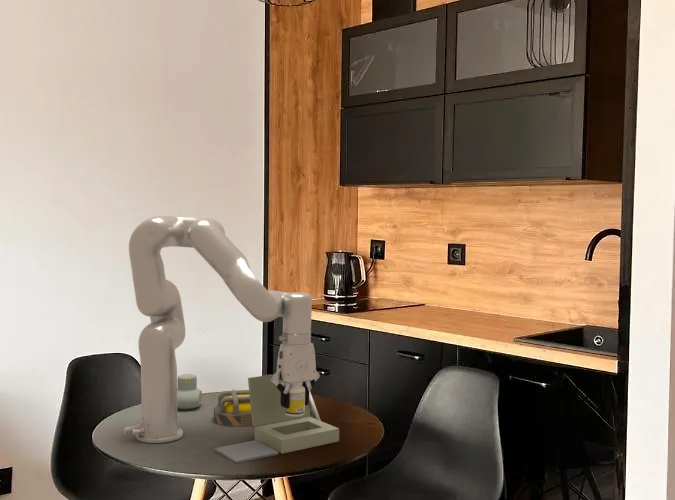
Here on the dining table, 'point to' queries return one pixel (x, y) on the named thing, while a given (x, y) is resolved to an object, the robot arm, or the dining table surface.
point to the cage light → (238, 409)
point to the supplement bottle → (296, 400)
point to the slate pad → (246, 451)
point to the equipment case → (285, 420)
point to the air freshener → (188, 392)
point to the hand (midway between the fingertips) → (294, 405)
